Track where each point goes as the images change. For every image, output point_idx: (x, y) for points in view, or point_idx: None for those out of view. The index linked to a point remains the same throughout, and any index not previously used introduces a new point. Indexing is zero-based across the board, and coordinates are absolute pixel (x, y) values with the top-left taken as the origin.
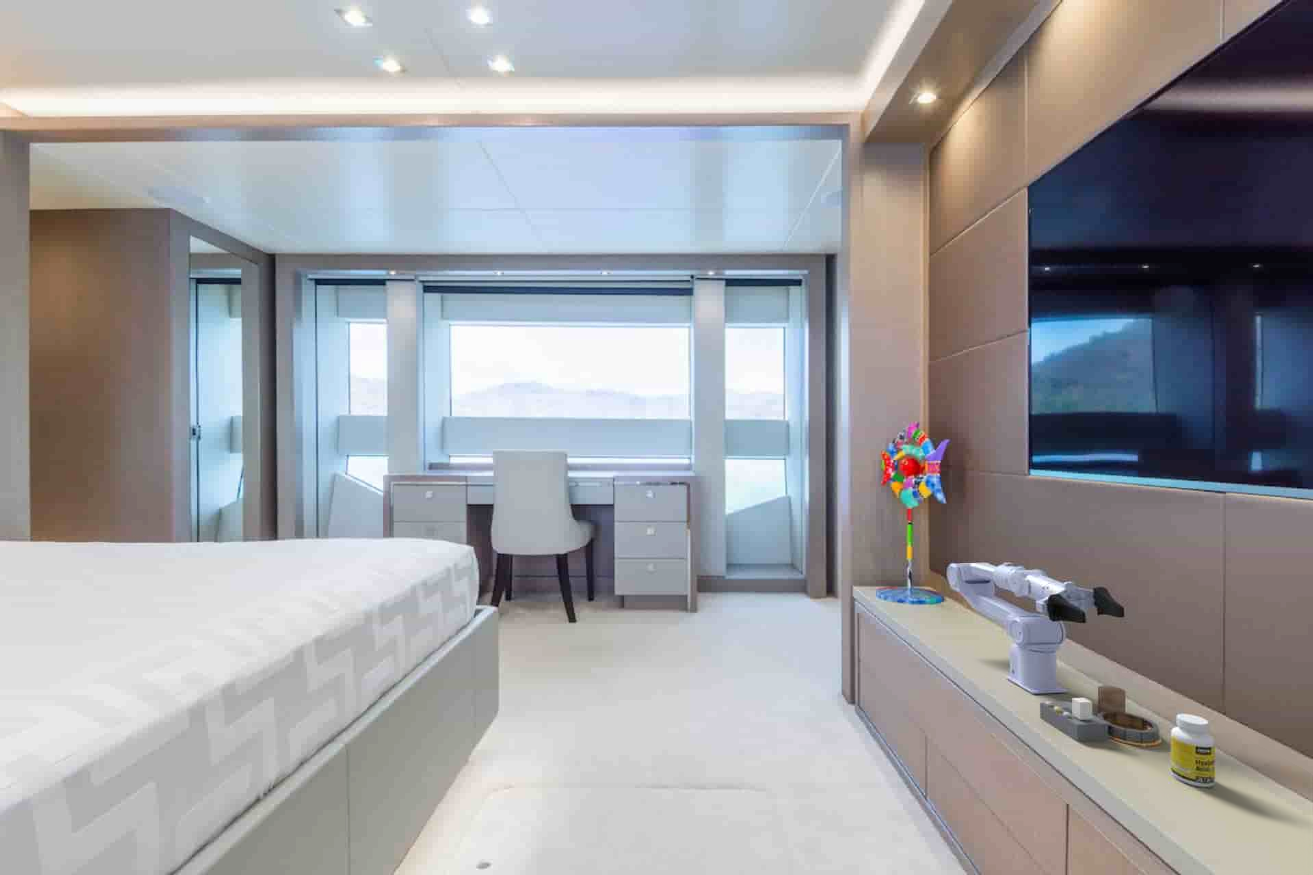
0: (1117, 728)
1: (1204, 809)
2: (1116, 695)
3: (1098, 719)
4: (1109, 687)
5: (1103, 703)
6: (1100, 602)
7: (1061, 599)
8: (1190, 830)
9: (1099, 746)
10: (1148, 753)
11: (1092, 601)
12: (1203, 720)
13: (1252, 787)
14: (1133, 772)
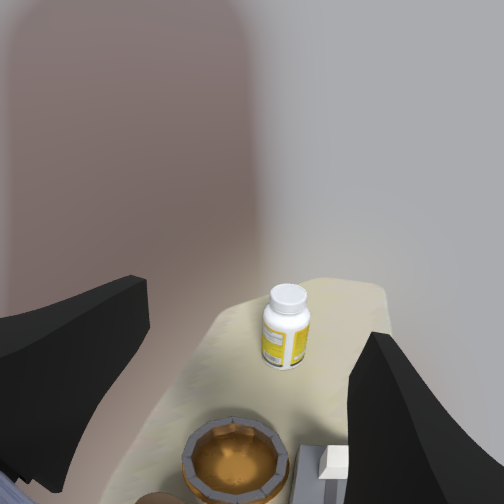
0: (282, 443)
1: (327, 320)
2: (179, 499)
3: (303, 461)
4: None
5: None
6: (36, 417)
7: (466, 473)
8: (365, 305)
9: (331, 440)
10: (273, 410)
11: (11, 483)
12: (277, 289)
13: (234, 332)
14: (342, 377)
